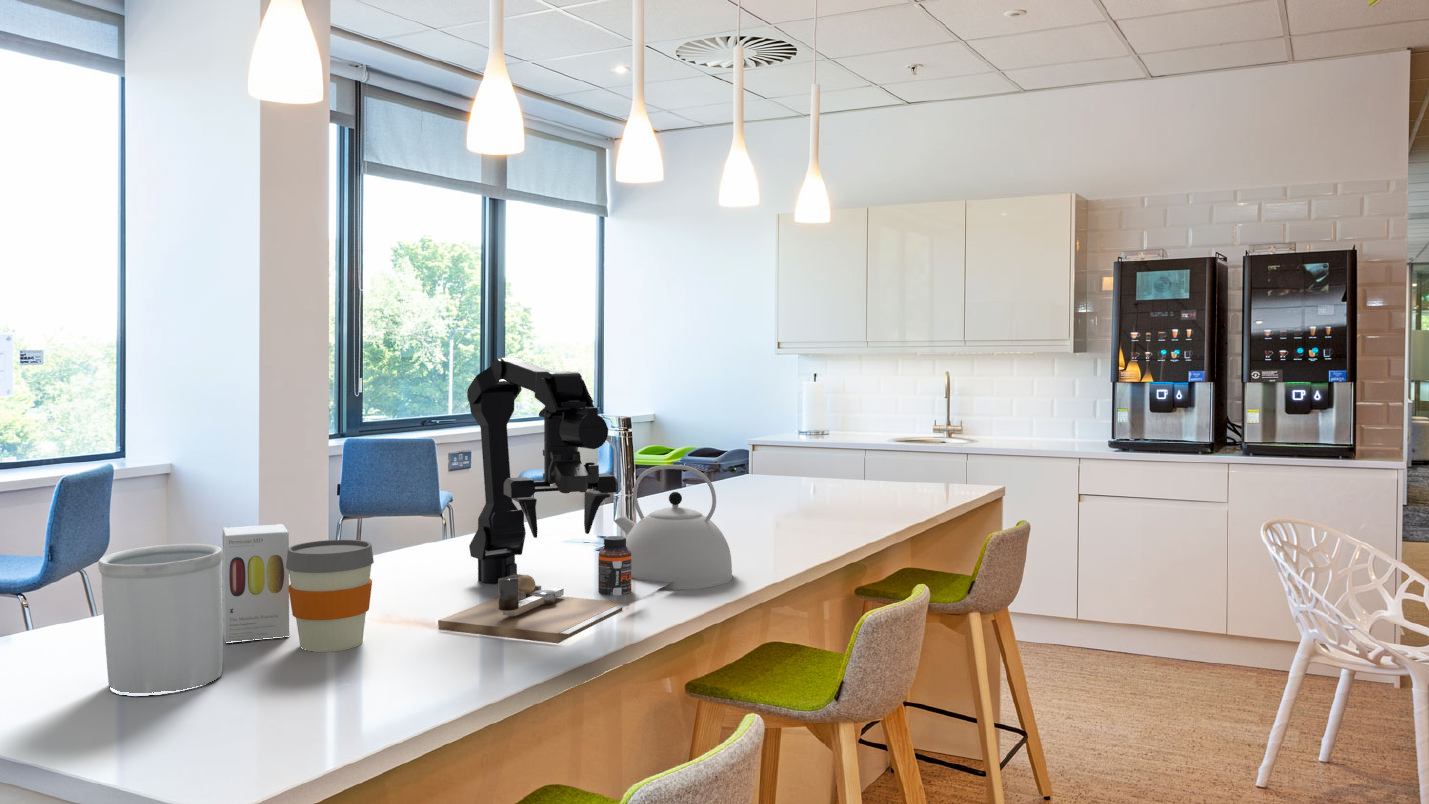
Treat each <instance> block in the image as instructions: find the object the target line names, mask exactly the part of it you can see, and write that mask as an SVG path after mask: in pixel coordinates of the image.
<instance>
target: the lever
mask: <svg viewBox="0 0 1429 804" xmlns="http://www.w3.org/2000/svg"><path fill="white" fill-rule="evenodd" d="M497 586H498V587H497V589H498V591H497V594H498V597H497V598H498V601H499V610H503V615H507V616H516V615H519V614H521V613H523V612H526V611H528V610H530V609H533V608H535V607H538V606H540V605H547V604H553V603H555V602H556V598H558V597H561V596H563V597H564V595H565V594H564V593H565V592H564V587H551V588H549V589H546V590H545V589H543V590H542V589H541V590H540V591H535V592H532V596H531V597H528V598H526V599H523V600H521V601H519V581H518V578H517V577H502V578H499V579H498V584H497Z"/></svg>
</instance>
